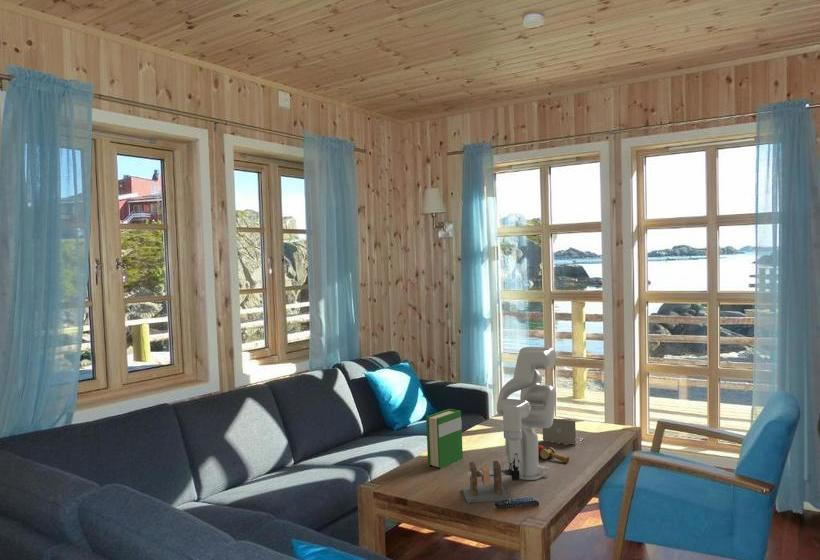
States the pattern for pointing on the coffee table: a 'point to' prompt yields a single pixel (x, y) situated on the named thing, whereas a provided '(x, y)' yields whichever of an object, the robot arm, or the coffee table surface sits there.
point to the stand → (496, 478)
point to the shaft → (493, 472)
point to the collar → (485, 475)
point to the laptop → (561, 432)
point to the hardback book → (444, 438)
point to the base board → (484, 494)
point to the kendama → (550, 454)
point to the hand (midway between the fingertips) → (514, 477)
